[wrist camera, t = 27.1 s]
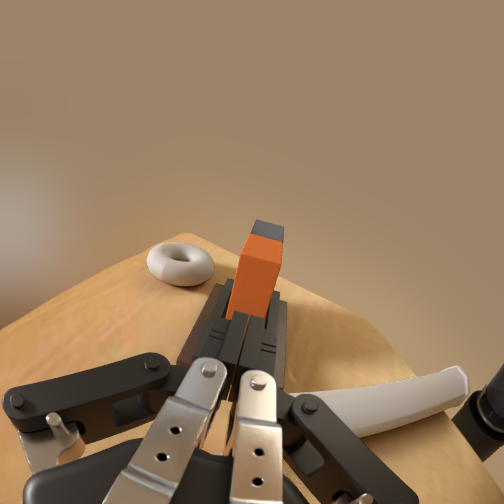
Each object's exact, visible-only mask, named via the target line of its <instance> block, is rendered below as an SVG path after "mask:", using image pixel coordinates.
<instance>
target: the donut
mask: <svg viewBox="0 0 504 504" xmlns="http://www.w3.org/2000/svg"><path fill="white" fill-rule="evenodd" d="M147 265H148V268H149V270H150V272H151V273H152V274H153V275H154V276H155V277H156V278H158V279H159V280H161V281H163V282H166V283H169V284H172V285H177V286H194V285H198V284H201V283H203V282H205V281H207V280H208V279H209V278H210V277H211V275H212V274H213V272H214V261H213V259H212V258H211V256H210V255H209V254H208V253H207V252H206V251H205V250H203V249H201V248H199V247H197V246H195V245H191V244H188V243H181V242H168V243H162V244H159V245H157V246H156V247H154V248H153V249H151V251H150V252H149V254H148V257H147Z"/></svg>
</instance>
